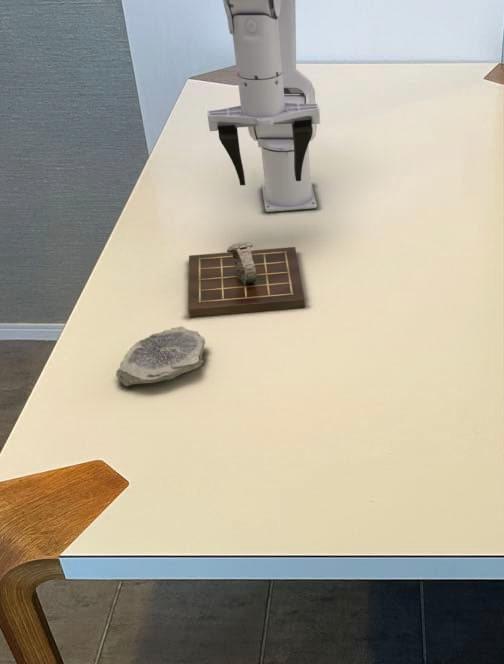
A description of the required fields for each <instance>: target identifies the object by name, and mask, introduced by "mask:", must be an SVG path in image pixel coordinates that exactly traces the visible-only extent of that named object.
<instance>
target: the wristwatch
mask: <svg viewBox="0 0 504 664" xmlns="http://www.w3.org/2000/svg"><path fill="white" fill-rule="evenodd" d="M253 245H254V244H253V243H252V242H251V241H242V242H238V243H234V244H231V245H229V246H228V248H227V249H226V253H227V252H231V253H232V255H233V259H234V263H235V266H236V271H237V273H238V275H239V278H240V280H241V281H242V282H243V283H244V284H247V283H252V282H255V281H256V269H255V265H254V262H253V259H252V254H251V250H252V248H254V246H253Z"/></svg>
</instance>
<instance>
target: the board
mask: <svg viewBox="0 0 504 664" xmlns="http://www.w3.org/2000/svg"><path fill="white" fill-rule="evenodd" d="M251 254H252V259H253V262H254V265H255V269H256V281H255V282H252V283H247V284H244V283H243V282H242V281H241V280H240V278H239V275H238V273H237V271H236V266H235V263H234V259H233V255H232V253H231V252H227V251H226V252H214V253H205V254H193V255H192V254H191V255H190V254H189V255H188V297H187V298H188V301H187V303H188V305H187V308H188V309H187V310H188V315H189V318H197V317H210V316H212V317H213V316H221V315H223V316H224V315H233V314H234V315H235V314H243V313H244V314H245V313H256V312H267V311H279V310H289V309H290V310H291V309H302V308H306V301H305V294H304V289H303V288H304V287H303V284H302V278H301V271H300V267H299V262H298V256H297V255H298V254H297V250H296V246H292V247H291V246H290V247H289V246H287V247H278V248H266V249H265V248H264V249H254V250H253V249H251Z"/></svg>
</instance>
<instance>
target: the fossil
mask: <svg viewBox="0 0 504 664" xmlns="http://www.w3.org/2000/svg"><path fill="white" fill-rule="evenodd" d="M205 345H206V339H205V337H204V336H202V335H201V334H200V333H199V332H198V331H195V330H190V329H188V328H186V327H185V326H177V327H171V328H170V329H165V330H164V331H162V332H157V333H152V334H150V335H149V336H148V337H146V338H144V339H140V340H139V341H137V342H135V343H134V344H133V345H132V346H131V347H130V348H129V350H128V351H127V352H126V353H125V354H124V357H123V359H122V361H121V362H120V365H119V367H118V369H117V370H116V374H115V376H116V378H117V379H118V380H119V381H120V383H122V384H123V386H125V387H130V386H132V385H139V384H140V385H141V384H155V383H158V382H167V381H171V380H173V379H176V378H177V377H179V376H181V375H184V374H187V373H189V372H192V371H195V370H197V369H198V368H199V367H201V366H203V364H204V360H203V354H204V353H205V352H204V351H205Z"/></svg>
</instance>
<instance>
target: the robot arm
mask: <svg viewBox="0 0 504 664" xmlns="http://www.w3.org/2000/svg"><path fill="white" fill-rule="evenodd" d="M222 3H223V7H224V11H225V15H226V19H227V26H228V31H229V34H230V35H232V41H233V42H232V43H233V49H234V51H233V52H234V58H235V59H234V60H235V67H236V76H237V83H238V93H239V102H240V105H237V106H231V107H226V108H221V109H214V110H207V123H208V128H209V132H216V131H217V133H218V139H219V141H220V143H221V145H222V146H223V148H224V150H225V151H226V153H227V154H228V157H229V158H230V160H231V162H232V164H233V167H234V169H235V171H236V174H237V178H238V181H239V185H240V186H246V179H245V171H244V166H243V161H242V155H241V150H240V149H241V148H240V140H239V132H238V128H247V131H248V135H249V137H251V138H252V140H253V141H254V142H257V147H258V148H260V151H261V160H262V170H263V179H264V184H263V185H262V186H261V187H262V188H261V189H262V196H263V203H264V210H265V212H266V213H272V212H285V211H297V210H309V209H310V210H311V209H316V208H317V201H316V196H315V192H314V189H313V184H312V177H311V176H312V175H311V163H310V161H311V160H310V150H309V149H310V148H309V147H310V146H309V144H310V142H313V140H314V139H315V138H316V136H317V132H318V131H317V130H318V125H320V124H321V116H320V105H319V104H318V103H317V102H316V90H315V87H314V85H313V83H312V81H311V80H310V79H308V77H307V76H305V75H304V74H303V73H302V72H301V71H299V70H298V69H297V30H296V29H297V27H296V25H297V22H296V21H297V20H296V15H297V14H296V0H222Z"/></svg>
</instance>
